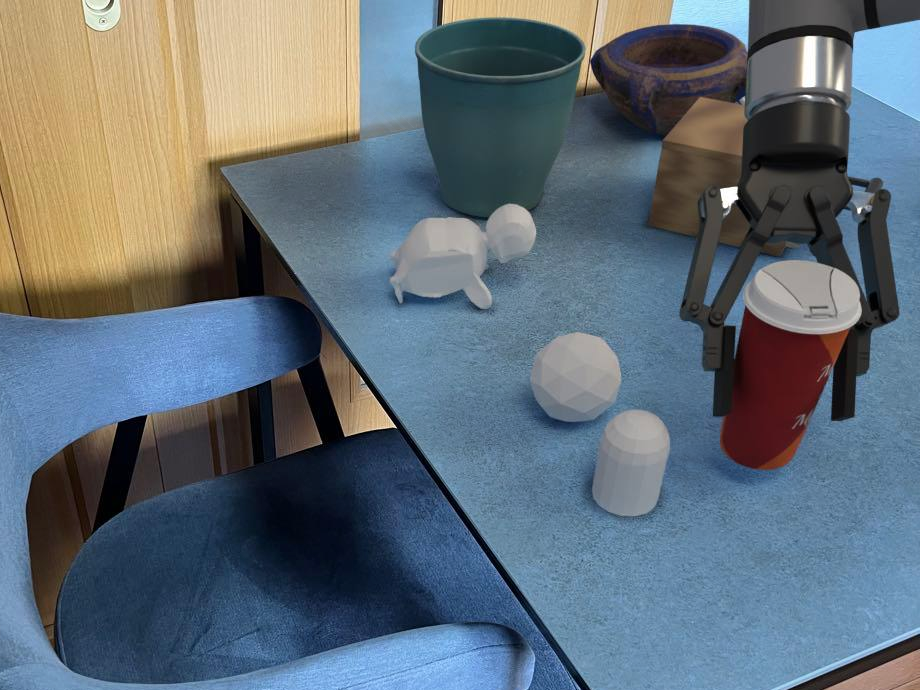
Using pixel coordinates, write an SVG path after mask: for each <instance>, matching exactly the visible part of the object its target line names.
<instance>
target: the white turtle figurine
mask: <svg viewBox="0 0 920 690" xmlns="http://www.w3.org/2000/svg"><path fill="white" fill-rule="evenodd" d="M536 236H537V227H536V225H535V223H534V219H533V217H532V214H531V213H530V211H529V210H528V211H527V210H526V209H525V208H523V207H521V206H518V205H517V204H506V205H503V206H501V207H500V208H498V209H497V210H495V212H494V213H492V215H491V216H490V217H488V218H487V221H486V225H485V230H483V231H482V229H481V227H479V225H478V224H476V223H475V222H473V221H472V220H471V219H468V218H465V217H451V216H448V217H426V218H424V219H421V220H420V221H418V222H417V223H416V224H415V225H414V226H413V227H412V229H411V230H410V232H409V234H408V235H407V237H406V238H405V240H404V241H403V242H402V243H401V244H400V245H399V247H398V248H397V249H396V250H392V251H391V252H390V255H389V258H390V259H391V261H392V263H393V266H394V268H395V269H396V271H395V273H394V274H393V276H391V277H390V278H389V282H390V284H391V286H392V288H393V289H394V293H395V296H396V298H397V300H398V303H399V305H400V304H403V302H404V300H403V293H404V292H407V293H410V294H412V295H415V296H420V297H422V298H435V299H436V298H441V297H443V296H447V295H450V294H453V293H455V292H458V291H461V290H462V291H463V292H464V293H465V295H466V296H467V297H468V299H469V300H470V301H471V303H473V304H474V305H475V306H477V307H478V308H480V310H489V309H490V308H491V307H492V302H493V301H492V300H493V297H492V294H491V292H490V290H489V288H488V287H487V285H486V284H485V282H484V281H483V280H482V278H481V276H482V275H483V274H484V273H485V271H486V270H488V269H489V265H488V261H489V251H490V252H491V253H492V254H493V255H494V256H495V258H496V259H497V260H498V261H499V262H500V263H501V264H506V263H508V262H510V261H511V260H514V259H521V258H523V257H525V256H526V255H527V254H529V253H530V252H531V250H532V248H533V246H534V244H535V242H536Z"/></svg>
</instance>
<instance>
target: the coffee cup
mask: <svg viewBox="0 0 920 690" xmlns="http://www.w3.org/2000/svg"><path fill="white" fill-rule="evenodd" d="M833 269H834V271H833ZM859 299H860V292H859V288H858V286H857V284H856V283H855V282H854V280H853V279H852V278H851V277H849V276H848V275H847V274H845V273H844V272H842V271H840V270H838V269H836V268H833V267H830V266H827V265H824V264H820V263H818V262H817V261H811V260H801V259H790V260H780V261H779V260H778V261H776V262H772V263H770V264H769V263H768V264H767V265H765V266H763V267H762V268H760V269H759V270H757V271H756V273H755V274H754V276H753V278H752V279H751V280H750V281H748V282H747V284H746V286H745V287H744V289H743V291H742V300H743V302H744V309H743V316H742V319H741V325H740V330H739V334H738V340H737V343H736V344H737V345H736V348H735V356H734V377H733V398H732V413H730V414H728V415H725V416H723V417H722V422H721V426H720V432H719V447H720V449H721V451H722V453H723V454H724V455H725V456H727V458H728V459H730V461H732V462H734V463H735V464H738V465H740V466H742V467H745V468H748V469H752V470H759V471H771V470H777V469H781V468H783V467H785V466H787V465H788V464H789V463H791V461H792V460H793V458H794V456H795V454H796V453H797V450H798V448H799V446H800V444H801V442H802V440H803V437H804V435H805V434H806V430H807V429H808V426H809V424H810V422H811V420H812V418H813V415H814V413H815V410H816V408H817V405H818V403H819V401H820V399H821V397H822V395H823V392H824V389H825V388H826V385H827V383H828V380H829V378H830V376H831V375H832V374H831V373H832V372H833V367H834V364H835V362H836V360H837V357H838V355H839V353H840V350H841V348H842V346H843V343H844V341H845V339H846V337H847V334H848V332H849V330H850V327H851V326H853V325H854V324H855V323H856V322H857V321H858V320H859V318H860V316H861V312H862V309H861V304H860V301H859Z"/></svg>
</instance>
